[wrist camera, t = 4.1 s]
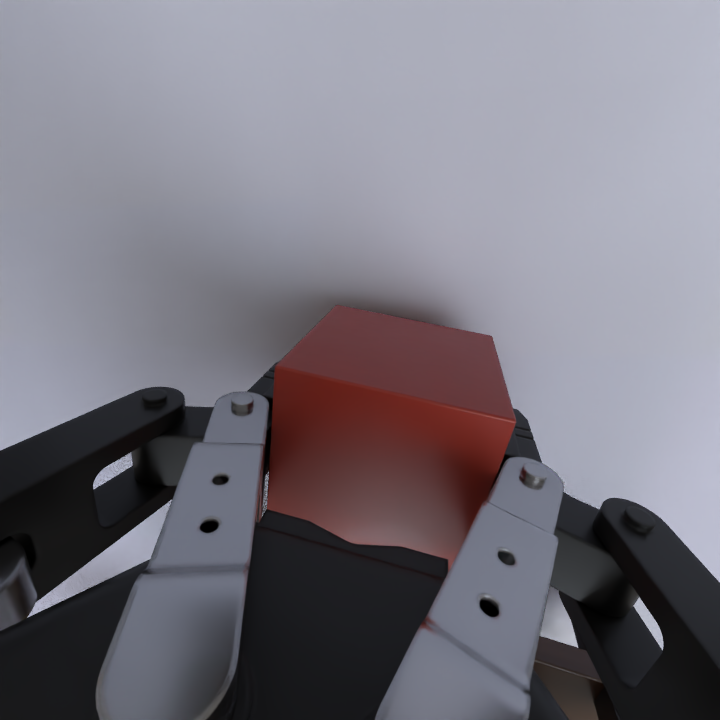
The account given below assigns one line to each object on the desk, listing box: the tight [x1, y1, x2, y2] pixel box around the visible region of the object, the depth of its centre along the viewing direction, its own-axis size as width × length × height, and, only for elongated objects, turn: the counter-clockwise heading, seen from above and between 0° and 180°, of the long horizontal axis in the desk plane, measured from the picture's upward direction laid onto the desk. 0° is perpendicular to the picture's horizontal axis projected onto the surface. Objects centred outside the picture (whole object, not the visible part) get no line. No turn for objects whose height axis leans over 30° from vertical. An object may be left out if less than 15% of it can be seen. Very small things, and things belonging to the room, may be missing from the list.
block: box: [267, 305, 516, 572], centre depth 11 cm, size 5×5×5 cm
